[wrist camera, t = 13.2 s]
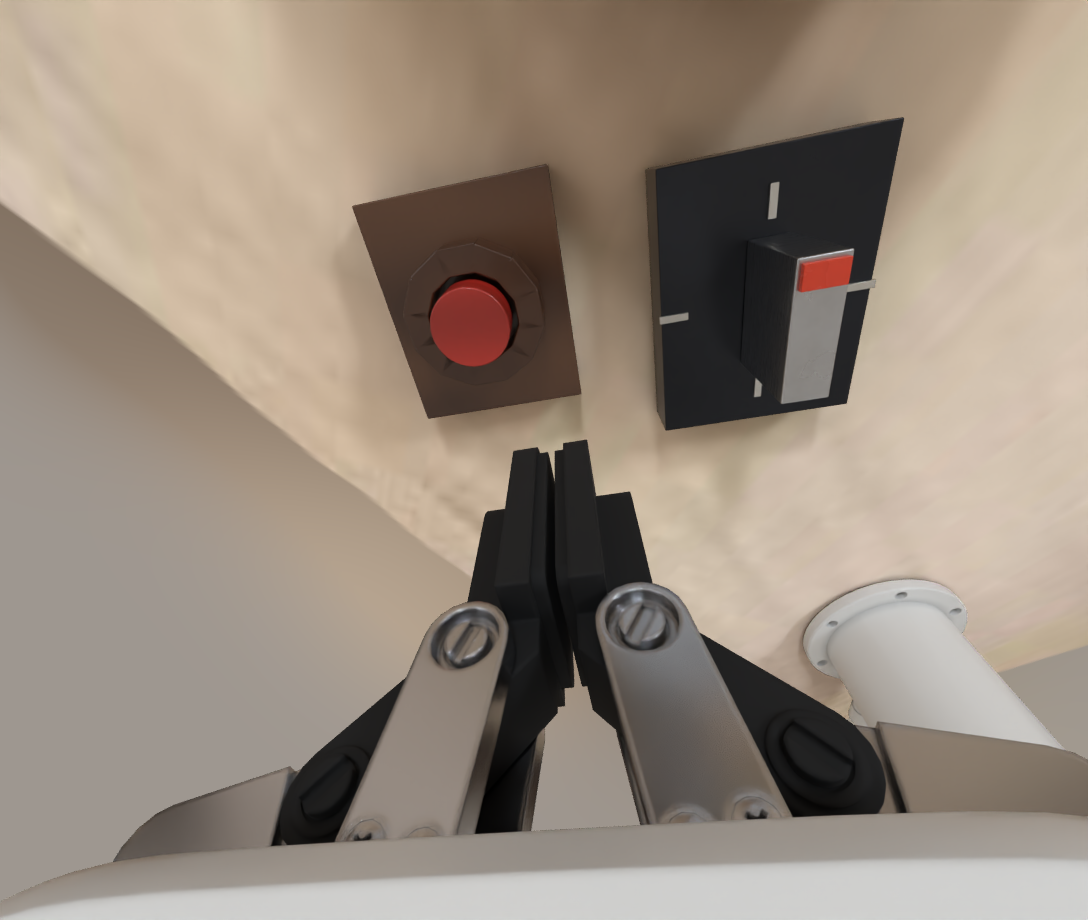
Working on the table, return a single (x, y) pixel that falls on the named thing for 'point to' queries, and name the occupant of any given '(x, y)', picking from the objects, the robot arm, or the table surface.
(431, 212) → the control block
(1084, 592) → the table surface
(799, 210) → the tap console
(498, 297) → the button
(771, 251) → the rotary selector knob
